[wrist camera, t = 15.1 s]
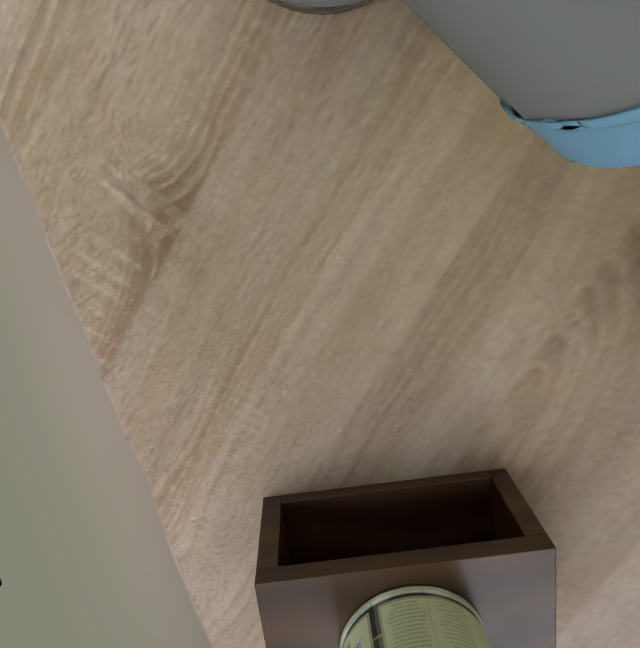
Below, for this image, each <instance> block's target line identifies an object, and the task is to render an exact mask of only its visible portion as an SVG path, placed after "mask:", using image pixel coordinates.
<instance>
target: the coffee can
mask: <svg viewBox="0 0 640 648" xmlns="http://www.w3.org/2000/svg"><path fill="white" fill-rule="evenodd" d="M339 648H491V646H490V643H489V641H488V638H487V635H486V631H485V627H484V624H483V622H482V620H481V618H480V616H479V614H478V613H477V611H476V610H475V609H474V608H473V607H472V606H471V605H470V604H469V603H468V602H467V601H466V600H465V599H463V598H462V597H460V596H459V595H457V594H454V593H452V592H450V591H448V590H445V589H442V588H437V587H432V586H405V587H401V588H397V589H393V590H389V591H387V592H384V593H381V594H379V595H377V596H375V597H374V598H372V599H370V600H369V601H367V602H366V603H364V604H363V605H362V606H361V607H360V608H359V609H357V610H356V611H355V613H354V614H353V615H352V617H351V618H350V620H349V621H348V623H347V624H346V626H345V628H344V630H343V633H342V636H341V640H340V647H339Z"/></svg>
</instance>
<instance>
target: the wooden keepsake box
mask: <svg viewBox="0 0 640 648" xmlns="http://www.w3.org/2000/svg"><path fill="white" fill-rule="evenodd" d="M405 586H432V587H437V588H442V589H445V590H448V591H450V592H452V593H454V594H457V595H459V596H460V597H462V598H463V599H465V600H466V601H467V602H468V603H469V604H470V605H471V606H472V607H473V608H474V609H475V610H476V611H477V613H478V614H479V616H480V618H481V620H482V622H483V624H484V627H485V631H486V635H487V638H488V641H489V643H490V646H491V648H556V547H555V546H554V544H553V543H552V541H551V540H550V538H549V536H548V535H547V533H546V532H545V530H544V529H543V527H542V526H541V524H540V522H539V521H538V519H537V518H536V516H535V515H534V513H533V511H532V510H531V508H530V507H529V505H528V504H527V502H526V501H525V499H524V497H523V496H522V494H521V493H520V491H519V490H518V488H517V486H516V485H515V483H514V482H513V480H512V479H511V477H510V475H509V474H508V472H507V471H506V469H499V470H490V471H488V472H487V471H482V472H474V473H465V474H457V475H449V476H441V477H433V478H424V479H416V480H408V481H400V482H391V483H383V484H375V485H367V486H359V487H350V488H342V489H334V490H326V491H318V492H309V493H301V494H293V495H285V496H282V497H281V496H277V497H269V498H264V499H263V508H262V518H261V528H260V538H259V548H258V558H257V568H256V577H255V589H256V595H257V600H258V606H259V611H260V617H261V622H262V628H263V633H264V639H265V644H266V648H339V647H340V640H341V636H342V633H343V630H344V628H345V626H346V624H347V623H348V621H349V620H350V618H351V617H352V615H353V614H354V613H355V611H356V610H357V609H359V608H360V607H361V606H362V605H363V604H364V603H366V602H367V601H369V600H370V599H372V598H374V597H375V596H377V595H379V594H381V593H384V592H387V591H389V590H393V589H397V588H401V587H405Z"/></svg>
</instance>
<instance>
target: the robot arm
mask: <svg viewBox="0 0 640 648" xmlns="http://www.w3.org/2000/svg"><path fill="white" fill-rule="evenodd" d="M268 1H270V2H272V3H274V4H277V5H279V6H281V7H284V8H287V9H290V10H293V11H298V12H302V13H310V14H332V13H340V12H344V11H349V10H352V9H355V8H358V7H361V6H363V5H365V4H368V3H370V2H372V1H374V0H268ZM402 1H403V2H404V3H405V4H406V5H407V6H408V7H409V8H410V9H411V10H412V11H413V12H414V13H415V14H416V15H417V16H418V17H419V18H420V19H421V20H422V21H423V22H424V23H425V24H426V25H427V26H428V27H429V28H430V29H431V30H432V31H433V32H434V33H435V34H436V35H437V36H438V37H439V38H440V39H441V40H442V41H443V42H444V43H445V44H446V45H447V46H448V47H449V48H450V49H451V50H452V51H453V52H454V53H455V54H456V55H457V56H458V57H459V58H460V59H461V60H462V61H463V62H464V63H465V64H466V65H467V66H468V67H469V68H470V69H471V70H472V71H473V72H474V73H475V74H476V75H477V76H478V77H479V78H480V79H481V80H482V81H483V82H484V83H485V84H486V85H487V86H488V87H489V88H490V89H491V90H492V91H493V92H494V93H495V94H496V95H497V96H498V97H499V98H500V100H501V106H502V108H503V109H504V110H505V111H506V113H507V114H508V115H509V116H510V117H511V118H513V119H514V120H516V121H517V122H520V123H522V124H524V125H526V126H528V127H530V128H531V129H532V130H533V131H534V132H535V133H536V134H538V135H539V136H540V137H541V138H542V139H543V140H544V141H545V142H546V143H547V144H549V145H550V146H551V147H552V148H553V149H554V150H555V151H556V152H558V153H559V154H560V155H561V156H563V157H564V158H566V159H568V160H570V161H573V162H578V163H581V164H583V165H586V166H592V167H595V168H624V167H631V166H637V165H640V0H402ZM1 585H2V582H1V579H0V586H1Z"/></svg>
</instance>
